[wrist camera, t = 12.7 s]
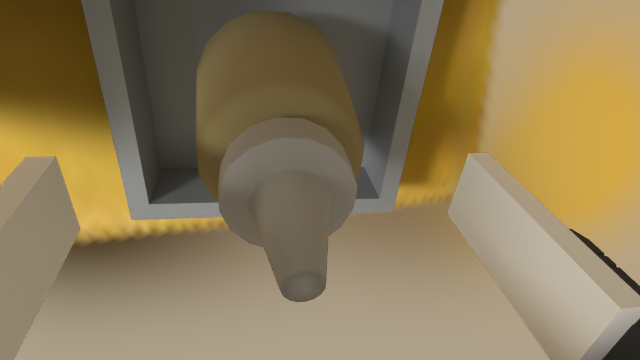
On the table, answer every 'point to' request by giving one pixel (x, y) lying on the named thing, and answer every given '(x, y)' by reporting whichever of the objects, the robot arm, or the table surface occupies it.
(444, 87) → the table surface
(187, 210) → the bin
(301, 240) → the squeeze bottle
